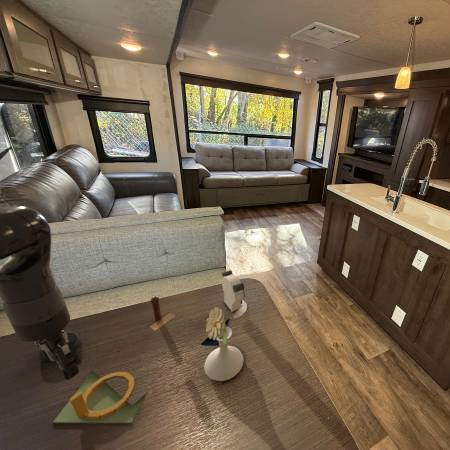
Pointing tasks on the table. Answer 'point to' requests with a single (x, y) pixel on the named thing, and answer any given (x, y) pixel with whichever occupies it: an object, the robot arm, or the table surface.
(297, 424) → the table surface
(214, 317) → the flower in vase
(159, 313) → the stand
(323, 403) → the table surface
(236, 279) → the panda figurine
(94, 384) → the orange ring with tab
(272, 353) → the table surface
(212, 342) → the cell phone
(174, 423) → the table surface
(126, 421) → the olive green flat piece
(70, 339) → the smart speaker
